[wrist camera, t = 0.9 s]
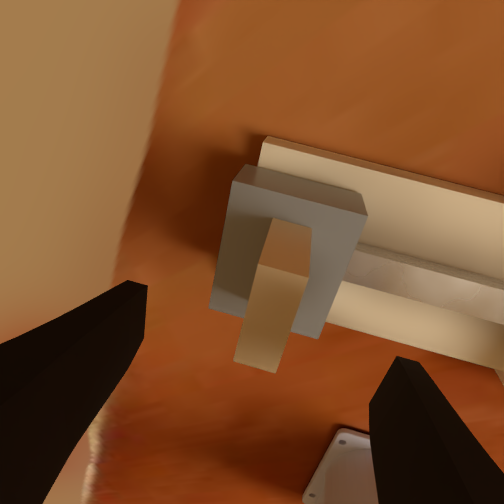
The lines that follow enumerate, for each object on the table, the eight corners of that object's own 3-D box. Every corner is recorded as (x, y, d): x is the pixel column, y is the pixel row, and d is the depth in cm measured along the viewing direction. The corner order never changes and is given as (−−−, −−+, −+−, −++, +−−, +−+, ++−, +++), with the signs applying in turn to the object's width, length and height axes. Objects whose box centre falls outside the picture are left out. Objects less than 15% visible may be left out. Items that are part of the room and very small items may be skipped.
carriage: (318, 305, 18) (316, 406, 12) (222, 278, 18) (181, 367, 13) (361, 193, 15) (382, 265, 9) (245, 163, 15) (204, 216, 10)
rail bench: (502, 354, 19) (515, 374, 18) (235, 279, 20) (229, 294, 18) (605, 222, 15) (632, 236, 14) (267, 135, 16) (262, 141, 15)
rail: (556, 328, 16) (569, 342, 15) (240, 241, 17) (236, 251, 16) (578, 300, 15) (594, 314, 14) (247, 212, 16) (243, 220, 15)
